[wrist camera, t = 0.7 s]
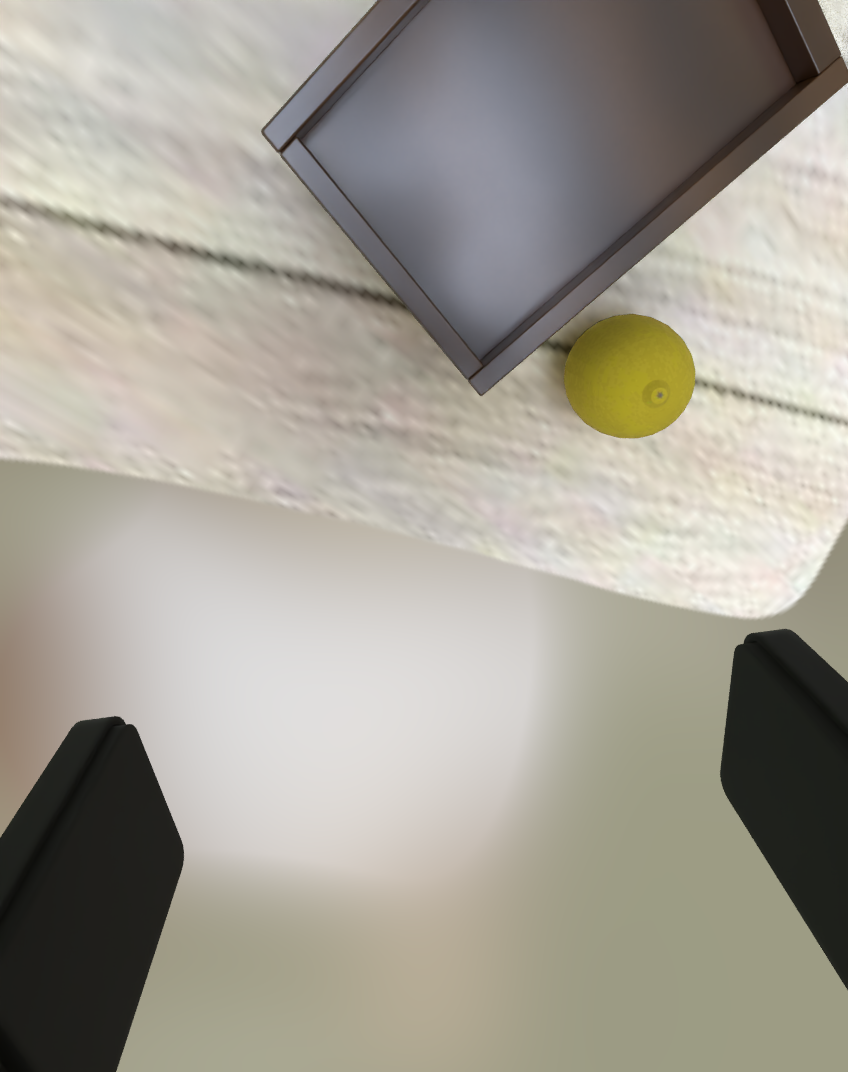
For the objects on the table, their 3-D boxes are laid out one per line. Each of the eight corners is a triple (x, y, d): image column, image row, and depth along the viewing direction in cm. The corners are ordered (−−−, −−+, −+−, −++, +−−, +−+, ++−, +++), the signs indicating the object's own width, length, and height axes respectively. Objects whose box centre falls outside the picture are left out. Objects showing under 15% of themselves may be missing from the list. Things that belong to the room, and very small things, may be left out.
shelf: (565, -119, 25) (673, -331, 16) (702, 130, 29) (852, 78, 20) (299, 166, 28) (259, 131, 19) (453, 352, 32) (481, 397, 23)
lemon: (670, 365, 33) (750, 400, 26) (586, 433, 35) (639, 484, 27) (613, 282, 31) (682, 295, 24) (526, 357, 33) (567, 391, 25)
